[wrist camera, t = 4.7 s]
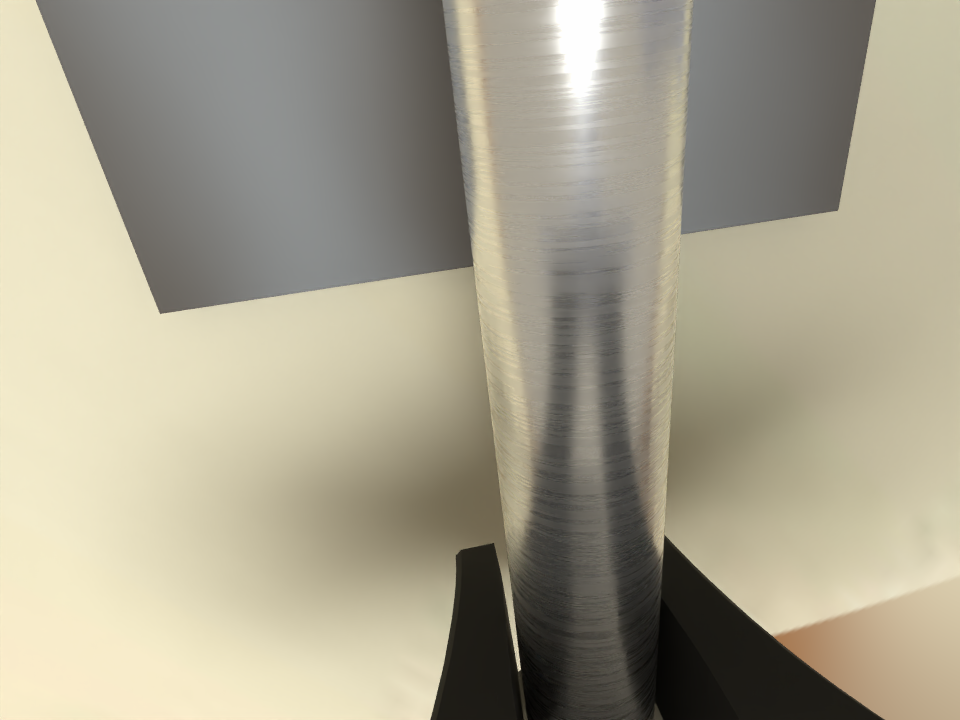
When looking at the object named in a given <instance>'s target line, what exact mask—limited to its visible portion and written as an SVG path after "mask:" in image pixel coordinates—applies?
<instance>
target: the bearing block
mask: <svg viewBox="0 0 960 720" xmlns="http://www.w3.org/2000/svg"><path fill="white" fill-rule="evenodd" d="M36 2H37V5H38V7H39V10H40V13H41V15H42V18H43V20H44V23H45V25H46V28H47V30H48V33H49V35H50V38H51V40H52V43H53V45H54V48H55V50H56V53H57V55H58V58H59V60H60V63H61V65H62V68H63V70H64V73H65V76H66V78H67V81H68V83H69V86H70V88H71V91H72V93H73V96H74V98H75V101H76V103H77V106H78V108H79V111H80V113H81V116H82V118H83V121H84V123H85V126H86V128H87V131H88V133H89V136H90V139H91V141H92V144H93V146H94V149H95V151H96V154H97V156H98V159H99V161H100V164H101V166H102V169H103V171H104V174H105V176H106V179H107V181H108V184H109V186H110V189H111V191H112V194H113V196H114V199H115V201H116V204H117V207H118V209H119V212H120V214H121V217H122V219H123V222H124V224H125V227H126V229H127V232H128V234H129V237H130V239H131V242H132V244H133V247H134V249H135V252H136V254H137V257H138V259H139V262H140V264H141V267H142V270H143V272H144V275H145V277H146V280H147V282H148V285H149V287H150V290H151V292H152V295H153V297H154V300H155V302H156V305H157V307H158V310H159V312H160V314H162V313H168V312H175V311H182V310H188V309H195V308H201V307H208V306H214V305H221V304H228V303H234V302H241V301H247V300H254V299H260V298H267V297H274V296H280V295H287V294H293V293H300V292H306V291H313V290H319V289H326V288H333V287H339V286H346V285H352V284H359V283H365V282H372V281H379V280H385V279H392V278H398V277H405V276H411V275H418V274H424V273H431V272H438V271H444V270H451V269H457V268H464V267H470V266H473V257H472V249H471V240H470V232H469V223H468V215H467V206H466V198H465V189H464V181H463V172H462V164H461V155H460V147H459V138H458V130H457V121H456V113H455V104H454V96H453V87H452V79H451V70H450V62H449V53H448V45H447V36H446V28H445V19H444V11H443V2H442V0H36ZM875 3H876V0H693V17H692V35H691V53H690V72H689V90H688V108H687V126H686V145H685V163H684V181H683V199H682V218H681V234H687V233H694V232H700V231H707V230H713V229H720V228H726V227H733V226H740V225H746V224H753V223H759V222H766V221H772V220H779V219H786V218H792V217H799V216H805V215H812V214H818V213H825V212H831V211H838V208H839V202H840V197H841V191H842V186H843V180H844V175H845V169H846V164H847V158H848V153H849V147H850V141H851V136H852V130H853V125H854V119H855V114H856V108H857V103H858V97H859V91H860V86H861V80H862V75H863V69H864V64H865V58H866V53H867V47H868V41H869V36H870V30H871V25H872V19H873V14H874V8H875Z"/></svg>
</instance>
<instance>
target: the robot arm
mask: <svg viewBox="0 0 960 720" xmlns="http://www.w3.org/2000/svg"><path fill="white" fill-rule="evenodd" d="M655 703H656V705H657V707H658V709H659V711H660V714H661V716H662V718H663V720H884V719H883V718H881V717H880V716H878V715H877V714H875V713H874V712H872V711H871V710H869V709H868V708H866V707H865V706H864V705H862V704H861V703H859V702H858V701H857V700H855V699H854V698H852V697H851V696H849V695H848V694H847V693H845V692H844V691H842V690H841V689H839V688H838V687H837V686H835V685H834V684H833V683H831V682H830V681H829V680H827V679H826V678H825V677H823V676H822V675H821V674H819V673H818V672H817V671H815V670H814V669H812V668H811V667H810V666H809V665H807V664H806V663H805V662H804V661H802V660H801V659H800V658H798V657H797V656H796V655H794V654H793V653H792V652H791V651H790V650H788V649H787V648H786V647H785V646H783V645H782V644H781V643H779V642H778V641H777V640H776V639H775V638H774V637H773V636H771V635H770V634H769V633H768V632H767V631H765V630H764V629H763V628H762V627H761V626H759V625H758V624H757V623H756V622H755V621H754V620H752V619H751V618H750V617H749V616H748V615H747V614H746V613H744V612H743V611H742V610H741V609H740V608H739V607H738V606H737V605H736V604H734V603H733V602H732V601H731V600H730V599H729V598H728V597H727V596H726V595H725V594H724V593H723V592H721V591H720V590H719V589H718V588H717V587H716V586H715V585H714V584H713V583H712V582H711V581H710V580H709V579H708V578H706V577H705V576H704V575H703V574H702V573H701V572H700V571H699V570H698V569H697V568H696V567H695V566H694V565H693V564H692V563H691V562H690V561H689V560H688V559H687V558H686V557H685V556H684V555H683V554H682V553H681V552H680V551H679V550H678V549H677V548H676V547H675V545H674V544H673V543H672V542H671V541H670V540H669V539H668V538H667V537H666V536H665V535H664V546H663V565H662V583H661V601H660V619H659V638H658V656H657V674H656V692H655ZM431 720H524V718H523V710H522V701H521V693H520V684H519V676H518V669H517V664H516V658H515V652H514V646H513V640H512V634H511V629H510V623H509V617H508V611H507V605H506V599H505V594H504V588H503V582H502V576H501V572H500V568H499V563H498V559H497V555H496V550H495V546H494V543H492V544H487V545H483V546H478V547H473V548H468V549H463V550H460V552H459V553H458V554H457V555H456V588H455V599H454V607H453V615H452V622H451V628H450V633H449V639H448V645H447V650H446V656H445V661H444V666H443V671H442V675H441V679H440V683H439V687H438V692H437V696H436V700H435V704H434V708H433V712H432V716H431Z"/></svg>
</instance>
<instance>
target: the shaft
mask: <svg viewBox="0 0 960 720" xmlns="http://www.w3.org/2000/svg"><path fill="white" fill-rule="evenodd" d="M442 2H443V11H444V19H445V28H446V36H447V45H448V53H449V62H450V70H451V79H452V87H453V96H454V104H455V113H456V121H457V130H458V138H459V147H460V155H461V164H462V172H463V181H464V189H465V198H466V206H467V215H468V223H469V232H470V240H471V249H472V257H473V266H474V274H475V283H476V291H477V300H478V308H479V317H480V325H481V334H482V342H483V351H484V359H485V368H486V376H487V385H488V393H489V402H490V410H491V419H492V427H493V436H494V444H495V453H496V461H497V470H498V478H499V487H500V495H501V504H502V512H503V521H504V529H505V538H506V546H507V555H508V563H509V572H510V580H511V589H512V597H513V606H514V614H515V623H516V631H517V640H518V648H519V657H520V665H521V670H520V671H519V672H518V676H519V684H520V693H521V701H522V710H523V718H524V720H663V718H662V716H661V714H660V711H659V709H658V707H657V705H656V703H655V692H656V674H657V656H658V638H659V619H660V601H661V583H662V565H663V546H664V528H665V510H666V492H667V473H668V455H669V437H670V419H671V400H672V382H673V364H674V346H675V327H676V309H677V291H678V273H679V254H680V236H681V218H682V199H683V181H684V163H685V145H686V126H687V108H688V90H689V72H690V53H691V35H692V17H693V0H442Z"/></svg>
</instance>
